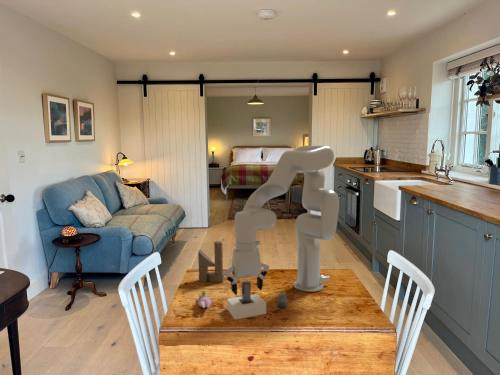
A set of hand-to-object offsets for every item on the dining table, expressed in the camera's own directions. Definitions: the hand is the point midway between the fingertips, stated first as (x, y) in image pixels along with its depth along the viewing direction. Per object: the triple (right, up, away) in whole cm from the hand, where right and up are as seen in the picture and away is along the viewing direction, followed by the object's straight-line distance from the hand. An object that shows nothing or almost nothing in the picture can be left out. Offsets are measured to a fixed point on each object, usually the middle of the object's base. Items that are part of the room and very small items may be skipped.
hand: (247, 290), depth 138 cm
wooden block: (-16, -4, +31) cm, 35 cm away
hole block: (0, -8, +1) cm, 8 cm away
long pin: (0, -8, +1) cm, 8 cm away
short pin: (+13, -7, +4) cm, 16 cm away
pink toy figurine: (-16, -8, +5) cm, 19 cm away
